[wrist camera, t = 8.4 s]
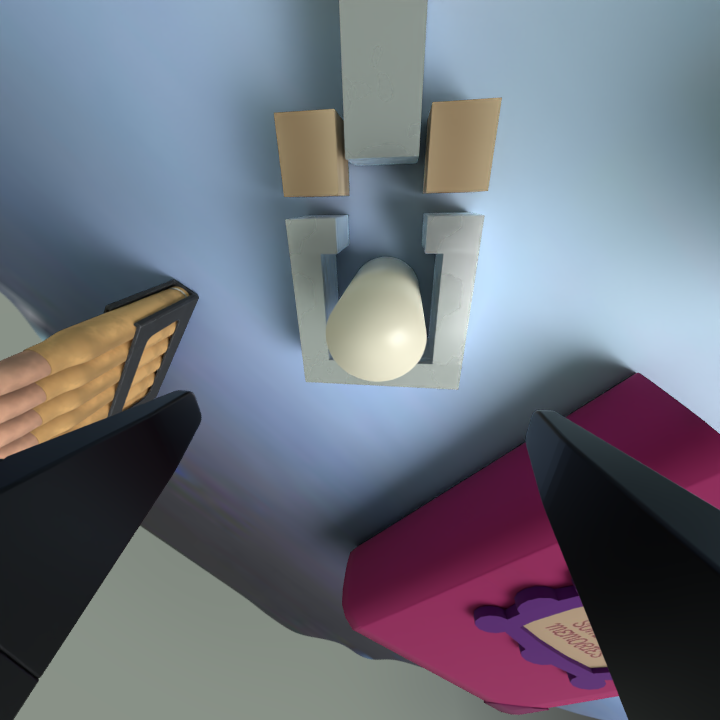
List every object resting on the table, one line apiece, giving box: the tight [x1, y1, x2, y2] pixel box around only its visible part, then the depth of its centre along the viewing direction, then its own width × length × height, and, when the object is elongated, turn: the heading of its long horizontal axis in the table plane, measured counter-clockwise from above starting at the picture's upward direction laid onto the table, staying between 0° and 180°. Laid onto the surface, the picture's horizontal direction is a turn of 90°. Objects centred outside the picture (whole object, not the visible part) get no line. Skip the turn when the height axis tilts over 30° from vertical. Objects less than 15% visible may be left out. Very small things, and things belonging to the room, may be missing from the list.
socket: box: [285, 212, 484, 390], centre depth 17 cm, size 9×9×4 cm
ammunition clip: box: [0, 279, 199, 459], centre depth 17 cm, size 11×2×12 cm, turn 145°
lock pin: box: [339, 0, 428, 166], centre depth 11 cm, size 3×10×4 cm, turn 1°
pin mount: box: [274, 98, 502, 197], centre depth 14 cm, size 9×3×3 cm, turn 91°
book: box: [342, 373, 720, 715], centre depth 24 cm, size 21×28×8 cm
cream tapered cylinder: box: [326, 257, 427, 382], centre depth 15 cm, size 4×4×7 cm
